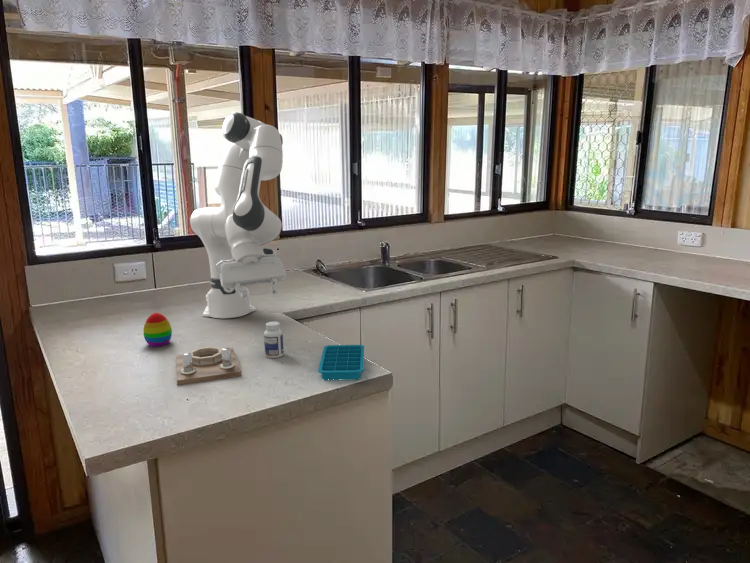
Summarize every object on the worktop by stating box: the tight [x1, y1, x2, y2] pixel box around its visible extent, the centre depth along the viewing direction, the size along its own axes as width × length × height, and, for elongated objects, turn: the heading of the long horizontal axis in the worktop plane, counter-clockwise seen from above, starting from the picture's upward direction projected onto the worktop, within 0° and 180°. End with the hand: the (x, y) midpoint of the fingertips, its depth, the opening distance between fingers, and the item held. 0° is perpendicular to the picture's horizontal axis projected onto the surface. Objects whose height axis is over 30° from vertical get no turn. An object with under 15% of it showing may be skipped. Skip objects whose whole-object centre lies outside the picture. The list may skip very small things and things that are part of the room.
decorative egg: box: [143, 312, 173, 348], centre depth 173 cm, size 8×8×10 cm
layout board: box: [175, 346, 242, 386], centre depth 154 cm, size 20×16×3 cm
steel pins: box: [180, 347, 235, 375], centre depth 149 cm, size 4×14×5 cm, turn 110°
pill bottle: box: [263, 321, 285, 359], centre depth 161 cm, size 5×5×10 cm
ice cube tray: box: [317, 344, 365, 381], centre depth 153 cm, size 12×20×3 cm, turn 0°
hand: (259, 294), depth 170 cm, fingers open, 8 cm apart
